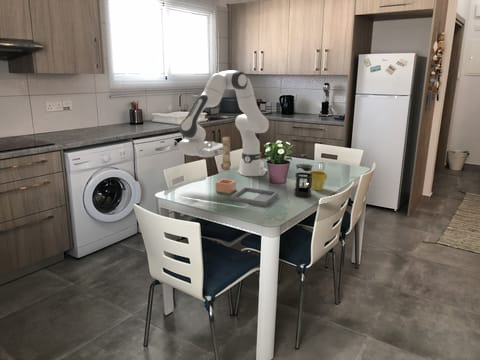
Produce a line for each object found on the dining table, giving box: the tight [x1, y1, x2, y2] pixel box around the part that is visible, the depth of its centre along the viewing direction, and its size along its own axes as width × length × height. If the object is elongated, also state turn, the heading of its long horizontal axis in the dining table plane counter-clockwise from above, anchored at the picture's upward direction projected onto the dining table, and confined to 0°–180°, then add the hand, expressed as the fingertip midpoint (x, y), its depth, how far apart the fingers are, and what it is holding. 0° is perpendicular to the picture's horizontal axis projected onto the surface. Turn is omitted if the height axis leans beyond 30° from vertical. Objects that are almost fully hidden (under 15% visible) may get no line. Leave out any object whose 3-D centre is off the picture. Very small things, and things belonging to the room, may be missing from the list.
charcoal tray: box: [229, 186, 279, 207], centre depth 213 cm, size 20×20×2 cm
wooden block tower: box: [222, 136, 231, 171], centre depth 218 cm, size 4×4×18 cm
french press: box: [293, 153, 314, 199], centre depth 217 cm, size 12×9×23 cm
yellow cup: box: [308, 170, 328, 191], centre depth 232 cm, size 10×10×10 cm
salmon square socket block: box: [215, 178, 237, 194], centre depth 223 cm, size 8×8×6 cm
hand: (227, 151), depth 217 cm, fingers closed on wooden block tower, 4 cm apart
